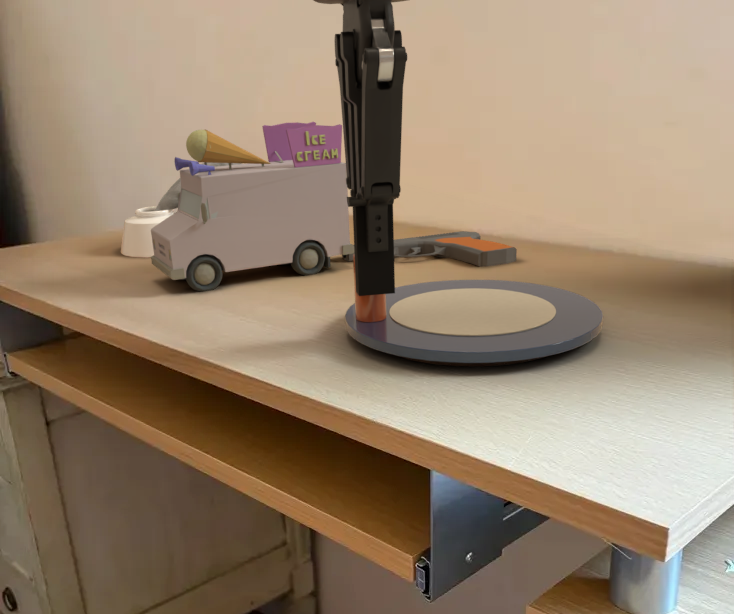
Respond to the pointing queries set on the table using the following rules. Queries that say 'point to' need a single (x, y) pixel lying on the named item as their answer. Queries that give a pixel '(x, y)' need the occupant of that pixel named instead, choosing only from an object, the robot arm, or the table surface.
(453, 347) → the plate
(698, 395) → the table surface
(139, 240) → the inkwell
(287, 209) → the toy vehicle
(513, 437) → the table surface
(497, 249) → the handgun
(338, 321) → the table surface
